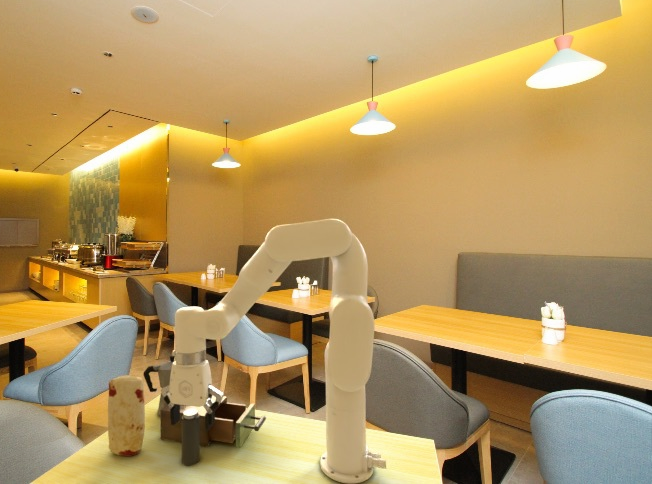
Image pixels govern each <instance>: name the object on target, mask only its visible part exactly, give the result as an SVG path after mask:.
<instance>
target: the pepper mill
mask: <svg viewBox="0 0 652 484" xmlns="http://www.w3.org/2000/svg"><path fill="white" fill-rule="evenodd" d="M200 458H201V446H200V417H199V413H198V411H197V410H196V409H188V410H185V411H184V412H183V416H182V442H181V463H182V464H183V465H184V466H193V465H195V464H198V463H199V461H200V460H201V459H200Z"/></svg>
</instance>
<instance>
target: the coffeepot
mask: <svg viewBox="0 0 652 484" xmlns="http://www.w3.org/2000/svg"><path fill="white" fill-rule="evenodd" d="M175 361H176V360H175V356H172V355H169V360H168V361H164V362H160V363H159V364H155V365H149V366H147V367H146V369H145V370H144V371H143V378H144V380H145V382H146V385H147V387H148V390H149V392H150V393H156V392H157V391H158V387H155V388H154V387H153V382H152V380H151V374H150V373H157V374H158V380H159V388H161V389H162V388H164V387H166V386H168V385H170V375H171V369H172V364H173V362H175ZM166 405H167V403H166V402H165V401H164V397H163V395H162V393H161V392H160V396H159V403H158V409H157V415H158V416H160V410H161V409H162V408H163V407H165V406H166Z"/></svg>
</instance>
